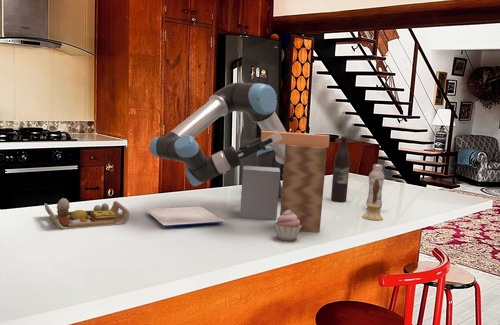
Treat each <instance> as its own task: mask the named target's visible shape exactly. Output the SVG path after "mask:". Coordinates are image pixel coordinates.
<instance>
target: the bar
mask: <svg viewBox="0 0 500 325" xmlns="http://www.w3.org/2000/svg"><path fill="white" fill-rule="evenodd" d="M260 132H261V134H260V135H261V141H262V140H263V139H265V138H267V137H269V136H271V135H273V134H275V133H277V132H274V131H262V130H260ZM280 135H281V137H282V139H281V140H279V141H277V142H275V143H273V144H286V145H300V146H315V147H326V148H330V137H331V136H330V135H329V134H317V133H307V132H306V133H300V132H287V131H286V132H280ZM262 142H263V141H262Z"/></svg>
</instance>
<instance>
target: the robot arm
mask: <svg viewBox="0 0 500 325" xmlns="http://www.w3.org/2000/svg"><path fill="white" fill-rule="evenodd" d="M277 98H278V97H277V93H276V91H275V89H274V88H273V87H272V86H271V85H269V84H264V83H259V82H257V83H254V82H253V83H252V82H250V83H249V82H233V83H230V84H228V85H226V86H224V87H222V88H220V89H219V90H217V91H216V92H213V94H212V95H210V96H209V99H208V101H207V102H205V104H204V105H201V107H199V108H198V109H197V110H195V112H193V113H192V114H190V116H188V117H186V118H185V120H183V121H182V122H180V123H179V124H178V125H177V126H175V127H174V128H172V130H171V131H169V132H168V133H166V134H165V135H164V136H155V137H154V138H152V139H151V141H150V143H149V151H150V154H151V155H152V156H154V157H156V158H159V159H164V160H169V161H175V162H180V163H184V165H185V166H186V168H185V170H184V171H185V172H184V173H185V175H186V178H187V180H188V183H189V184H191V186H193V187H197V186H199V185H202V184H204V183H205V184H206V182H208V181H210V180H212V179H214V178H216V177H218V176H220V175H222V174H223V175H226V174H227V172H229V171H230V170H231V169H235V168H237V167H238V166H239V167H240V166H241V164H242V163H241V160H242V159H244V158H248V156H251V155H252V154H255V153H256V161H255V162H256V163H255V166H257V167H272V168H279V169H280V176H283V169H284V156H285V144H273V143H275V142H277V141H279V140H281V139H282V137H281V135H280V132H287V130H286V129H285V127H284V125H283V123H282V122H281V120H280V118H279V117H278V115H277V113H276V110H277V104H278V100H277ZM233 112H240V113H245V114H247V115H248V116H247V117H248V118H249V119H250V121H252V122H254V123H256V124H257V125H258V127H259V129H260V131H274V132H277V133H275V134H273V135H271V136H269V137H267V138H265V139H263V140H262V141H263V142H262V141H261V134H260V135H259V137H258V138H256V139H254V140H252V141H251V142H248V143H246V144H244V145H240V146H239V148H238V149H237V150H236V149H235V147H234V146H232V145H231V146H229V147H228V146H227V148H224V149H223V150H220V151H218V152H215V153H214V154H211V155H210V156H208V157H207V156H206V155H205V153H204V152H203V150H202V148H201V147H200V145H199V143H198V142H197V141H196V139H195V138H196V137H197V136H199V135H200V134H201V133H202V132H203V131H205V130H206V129H207V128H208V127H209V126H211V125H212V124H213V123H214V122H215V121H216V120H218V119H219V118H220V117H225V116H226V115H228V114H229V113H233ZM281 196H282V182H281V178H280V179H279V193H278V198H281Z"/></svg>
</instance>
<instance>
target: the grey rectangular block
mask: <svg viewBox="0 0 500 325" xmlns="http://www.w3.org/2000/svg"><path fill="white" fill-rule="evenodd" d="M279 179H280V180H281V175H280V169H279V168H272V167H257V166H256V165H243V168H242V177H241V180H242V181H241V190H240V191H241V195H240V196H241V197H240V209H239V210H240V211H239V218H245V219H246V218H247V219H260V220H272V221H273V220H274V221H275V220H276V221H277V219H278V217H277V216H278V205H279V197H278V193H279Z"/></svg>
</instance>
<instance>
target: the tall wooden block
mask: <svg viewBox="0 0 500 325" xmlns="http://www.w3.org/2000/svg"><path fill="white" fill-rule="evenodd" d="M327 150H328V147H315V146H300V145H286V144H285V156H284V169H283V175H282V182H281V185H282V196H281V197H280V198H281V199H280V213H279V216H281V215H282V214H283V213H284V212H285V211H287V210H291V212H293V213H294V214H295V215H296V216H297V217H298V219H299V221H300V225H302V227H301V228H300V230H299V231H301V232H303V231H304V232H313V233H314V232H315V233H320V232H321V221H322V211H323V210H322V209H323V199H324V198H323V197H324V188H325V178H326V177H325V175H326V164H327V162H326V161H327V154H328V153H327V152H328V151H327Z"/></svg>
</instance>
